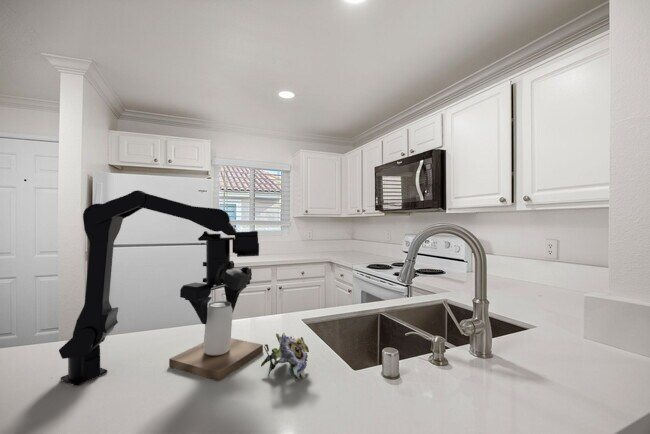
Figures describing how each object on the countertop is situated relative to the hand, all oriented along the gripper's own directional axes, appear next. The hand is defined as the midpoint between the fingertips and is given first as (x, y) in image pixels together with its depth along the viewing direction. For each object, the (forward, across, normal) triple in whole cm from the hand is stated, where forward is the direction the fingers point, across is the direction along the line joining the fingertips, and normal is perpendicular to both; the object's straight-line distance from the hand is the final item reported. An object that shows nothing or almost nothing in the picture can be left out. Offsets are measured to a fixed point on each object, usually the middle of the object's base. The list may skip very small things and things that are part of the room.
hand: (218, 318), depth 76 cm
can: (+8, 0, 0) cm, 9 cm away
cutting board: (+10, 0, 0) cm, 10 cm away
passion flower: (+11, 0, -20) cm, 23 cm away
